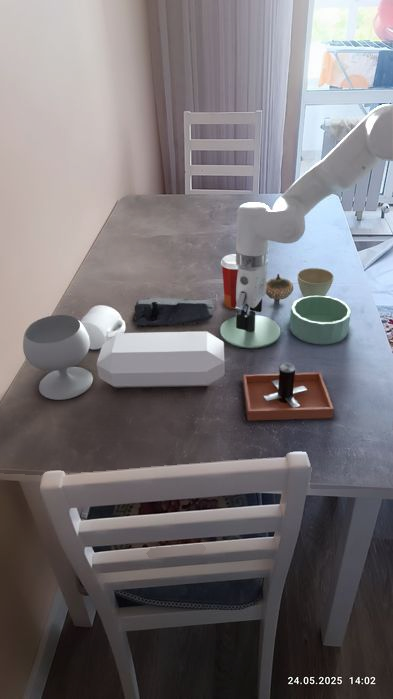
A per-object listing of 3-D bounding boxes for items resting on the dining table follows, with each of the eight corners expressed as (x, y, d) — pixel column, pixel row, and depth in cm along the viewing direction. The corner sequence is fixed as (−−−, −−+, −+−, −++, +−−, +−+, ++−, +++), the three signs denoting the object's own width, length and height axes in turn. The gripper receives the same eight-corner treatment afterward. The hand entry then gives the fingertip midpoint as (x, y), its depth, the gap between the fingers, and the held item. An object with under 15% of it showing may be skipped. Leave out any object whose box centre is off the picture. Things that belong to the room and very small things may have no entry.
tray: (319, 381, 108) (320, 372, 107) (332, 418, 98) (333, 408, 97) (242, 383, 108) (243, 374, 107) (247, 420, 98) (248, 411, 97)
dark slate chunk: (213, 329, 128) (212, 313, 125) (131, 328, 130) (129, 313, 127) (215, 301, 141) (215, 286, 138) (140, 301, 142) (139, 287, 140)
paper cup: (251, 300, 140) (253, 255, 132) (242, 312, 135) (243, 266, 127) (226, 295, 143) (226, 251, 135) (216, 307, 138) (215, 262, 130)
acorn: (290, 299, 140) (293, 267, 134) (292, 313, 133) (295, 280, 128) (262, 298, 141) (263, 267, 135) (262, 313, 134) (264, 280, 128)
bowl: (339, 314, 132) (342, 294, 129) (354, 343, 120) (357, 322, 117) (286, 315, 132) (287, 296, 129) (295, 345, 120) (297, 324, 117)
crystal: (224, 359, 100) (91, 362, 101) (225, 395, 105) (98, 397, 106) (223, 323, 112) (103, 326, 113) (223, 357, 117) (109, 359, 118)
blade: (303, 383, 107) (306, 354, 102) (311, 412, 99) (315, 381, 94) (260, 384, 107) (261, 355, 103) (265, 413, 99) (267, 383, 95)
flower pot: (293, 290, 145) (295, 268, 141) (327, 289, 144) (330, 267, 140) (297, 306, 136) (300, 283, 132) (333, 306, 136) (336, 283, 132)
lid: (275, 317, 132) (277, 297, 129) (284, 349, 119) (286, 328, 116) (218, 319, 132) (218, 299, 129) (221, 351, 119) (221, 330, 116)
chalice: (29, 406, 105) (12, 349, 96) (41, 368, 116) (26, 314, 108) (94, 401, 105) (82, 344, 97) (99, 363, 117) (89, 309, 108)
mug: (75, 347, 123) (69, 320, 119) (91, 328, 131) (86, 302, 126) (119, 352, 120) (114, 325, 116) (132, 333, 128) (128, 306, 123)
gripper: (254, 274, 106) (251, 339, 116) (277, 246, 119) (273, 307, 128) (223, 269, 109) (222, 333, 118) (249, 242, 122) (246, 301, 131)
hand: (249, 319), depth 123 cm, fingers open, 9 cm apart
